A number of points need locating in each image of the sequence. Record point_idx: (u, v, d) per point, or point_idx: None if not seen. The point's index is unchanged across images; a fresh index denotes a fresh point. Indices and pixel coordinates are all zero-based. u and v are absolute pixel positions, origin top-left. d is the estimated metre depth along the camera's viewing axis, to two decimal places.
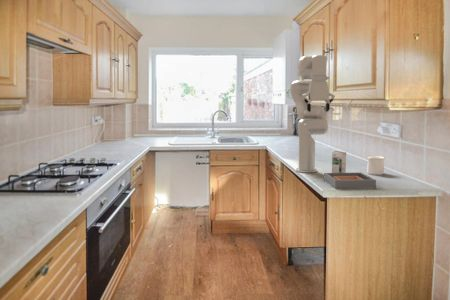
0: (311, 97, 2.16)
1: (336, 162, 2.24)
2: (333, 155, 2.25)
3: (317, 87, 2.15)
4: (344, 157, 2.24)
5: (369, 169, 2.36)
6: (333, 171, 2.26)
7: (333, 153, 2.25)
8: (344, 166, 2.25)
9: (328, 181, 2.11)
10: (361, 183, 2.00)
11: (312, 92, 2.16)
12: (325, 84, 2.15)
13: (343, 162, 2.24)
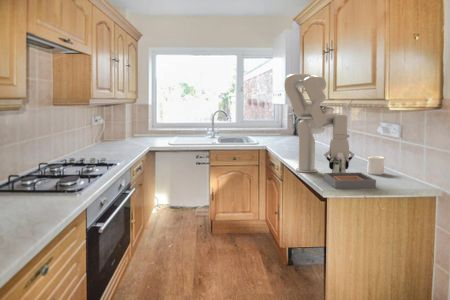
0: (332, 155, 2.23)
1: (336, 162, 2.24)
2: None
3: (338, 145, 2.22)
4: None
5: (369, 169, 2.36)
6: (333, 171, 2.26)
7: None
8: (344, 166, 2.25)
9: (328, 181, 2.11)
10: (361, 183, 2.00)
11: (333, 150, 2.23)
12: (346, 142, 2.22)
13: (343, 162, 2.24)
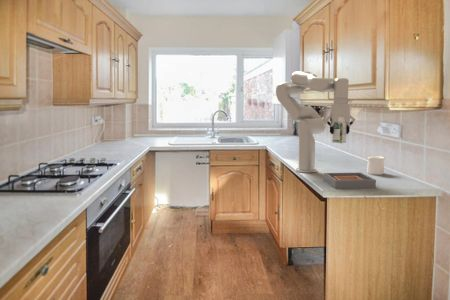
0: (333, 119, 2.21)
1: (337, 127, 2.21)
2: None
3: (339, 109, 2.20)
4: None
5: (369, 169, 2.36)
6: (334, 136, 2.23)
7: None
8: (345, 131, 2.23)
9: (328, 181, 2.11)
10: (361, 183, 2.00)
11: (334, 114, 2.20)
12: (347, 106, 2.20)
13: (344, 127, 2.22)
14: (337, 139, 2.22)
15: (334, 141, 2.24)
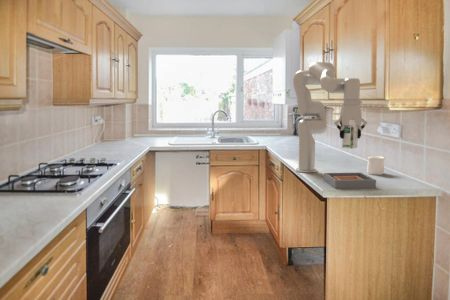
0: (343, 122, 2.04)
1: (347, 131, 2.05)
2: None
3: (350, 112, 2.03)
4: None
5: (369, 169, 2.36)
6: (344, 140, 2.07)
7: None
8: (356, 135, 2.06)
9: (328, 181, 2.11)
10: (361, 183, 2.00)
11: (344, 117, 2.04)
12: (358, 109, 2.03)
13: (355, 131, 2.05)
14: (347, 144, 2.05)
15: (344, 146, 2.07)
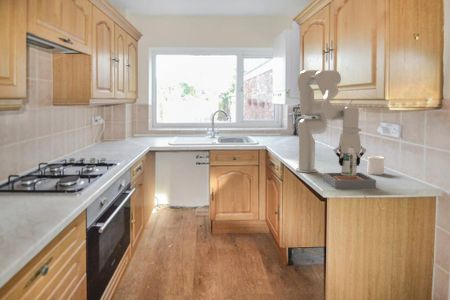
0: (342, 150, 2.06)
1: (347, 158, 2.06)
2: None
3: (349, 140, 2.05)
4: (355, 153, 2.07)
5: (369, 169, 2.36)
6: (343, 168, 2.08)
7: None
8: (355, 162, 2.08)
9: (328, 181, 2.11)
10: (361, 183, 2.00)
11: (344, 145, 2.05)
12: (357, 137, 2.05)
13: (354, 158, 2.07)
14: (346, 171, 2.07)
15: (344, 173, 2.08)
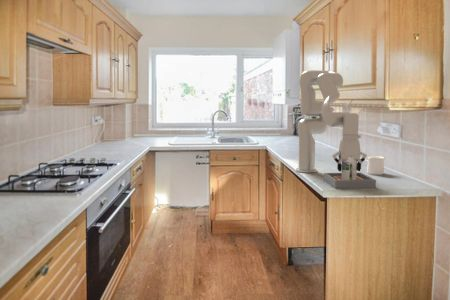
0: (342, 157, 2.06)
1: (346, 167, 2.07)
2: None
3: (348, 146, 2.05)
4: (355, 162, 2.08)
5: (369, 169, 2.36)
6: (343, 177, 2.09)
7: None
8: (355, 172, 2.08)
9: (328, 181, 2.11)
10: (361, 183, 2.00)
11: (343, 152, 2.06)
12: (357, 143, 2.05)
13: (354, 168, 2.07)
14: None
15: None
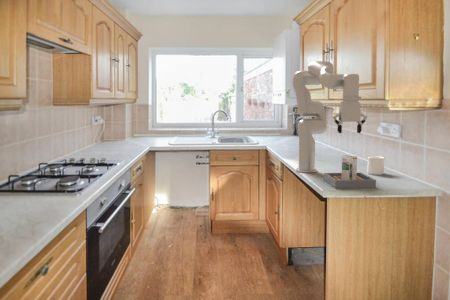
0: (342, 118, 2.04)
1: (346, 167, 2.07)
2: (343, 159, 2.09)
3: (349, 107, 2.03)
4: (355, 162, 2.08)
5: (369, 169, 2.36)
6: (343, 177, 2.09)
7: (343, 157, 2.08)
8: (355, 172, 2.08)
9: (328, 181, 2.11)
10: (361, 183, 2.00)
11: (344, 113, 2.04)
12: (357, 104, 2.03)
13: (354, 168, 2.07)
14: None
15: None
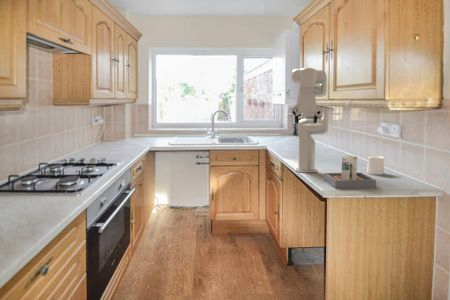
0: (299, 109, 2.19)
1: (346, 167, 2.07)
2: (342, 159, 2.09)
3: (305, 99, 2.17)
4: (355, 162, 2.08)
5: (369, 169, 2.36)
6: (343, 177, 2.09)
7: (343, 157, 2.08)
8: (355, 171, 2.08)
9: (328, 181, 2.11)
10: (361, 183, 2.00)
11: (300, 104, 2.18)
12: (312, 96, 2.18)
13: (354, 168, 2.07)
14: None
15: None
